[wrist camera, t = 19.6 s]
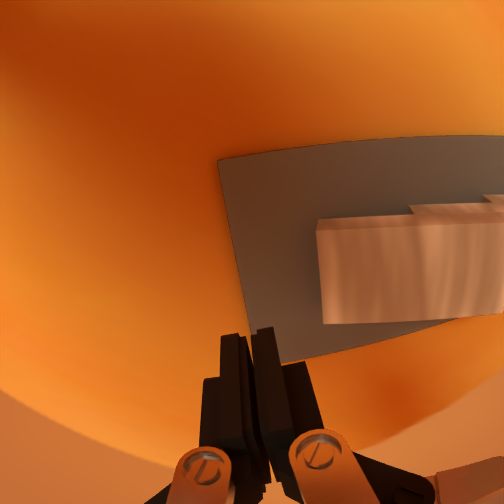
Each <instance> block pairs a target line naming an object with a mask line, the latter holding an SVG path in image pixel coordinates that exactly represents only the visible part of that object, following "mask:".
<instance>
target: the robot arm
mask: <svg viewBox="0 0 504 504" xmlns="http://www.w3.org/2000/svg"><path fill="white" fill-rule="evenodd" d="M251 345H252V356H253V362H252V358H251V355H250V351H249V347H248V343H247V339H246V336H243V337H240V336H239V334H238V333H234V334H229V335H223V336H221V347H220V377H213V378H206V379H204V382H203V393H202V407H201V422H200V438H199V447H198V448H195V449H192V450H190V451H189V452H187V453H185V454H184V455H183V456H182V457H181V459H180V460H179V462H178V464H177V466H176V469H175V473H174V477H173V481H172V483H170V484H169V485H168V486H167V487H165V488H164V489H163V490H161V491H160V492H159V493H158V494H156V495H155V496H154V497H152V498H151V499H150V500H148V501H147V502H145V503H144V504H258V503H259V502H260V501H261V500H262V499H263V493H265V492H266V487H265V484H268V483H271V473H270V465H269V460H270V463H271V466H272V469H273V472H274V475H275V478H276V481H277V482H281V483H282V486H283V490H284V493H285V495H286V496H288V497H289V498H291V499H293V500H295V501H297V502H299V503H300V504H504V457H502V456H498V457H492V458H489V459H486V460H483V461H480V462H476V463H473V464H469V465H466V466H462V467H458V468H454V469H450V470H445V471H441V472H437V473H436V474H435V475H434V476H429V477H422V476H420V475H417V474H413V473H410V472H407V471H404V470H401V469H398V468H395V467H392V466H389V465H386V464H384V463H380V462H378V461H376V460H373V459H370V458H367V457H365V456H362V455H360V454H357V453H355V452H352V451H351V449H350V447H349V446H348V444H347V442H346V440H345V439H344V438H343V437H342V436H341V435H340V434H338V433H337V432H335V431H331V430H328V429H324V425H323V422H322V418H321V415H320V411H319V408H318V404H317V401H316V397H315V394H314V390H313V387H312V383H311V380H310V376H309V373H308V369H307V366H306V363H305V361H303V362H298V363H293V364H289V365H284V366H281V363H280V358H279V353H278V348H277V343H276V338H275V333H274V328H273V326H272V327H267V328H262V329H257V334H254V335H251Z"/></svg>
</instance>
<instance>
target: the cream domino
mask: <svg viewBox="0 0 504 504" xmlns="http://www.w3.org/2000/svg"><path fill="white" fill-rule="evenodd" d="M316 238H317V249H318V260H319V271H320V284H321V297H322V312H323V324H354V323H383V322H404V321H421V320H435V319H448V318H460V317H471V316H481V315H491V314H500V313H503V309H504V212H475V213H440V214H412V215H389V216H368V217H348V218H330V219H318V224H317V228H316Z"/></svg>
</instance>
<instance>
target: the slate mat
mask: <svg viewBox="0 0 504 504" xmlns="http://www.w3.org/2000/svg"><path fill="white" fill-rule="evenodd" d="M217 164H218V170H219V175H220V180H221V185H222V191H223V196H224V201H225V206H226V211H227V217H228V222H229V227H230V232H231V237H232V242H233V247H234V252H235V257H236V262H237V267H238V272H239V277H240V282H241V287H242V292H243V297H244V301H245V306H246V311H247V316H248V321H249V326H250V330H251V335H254V334H257V329H262V328H267V327H272V326H273V328H274V333H275V338H276V343H277V348H278V353H279V358H280V363H285V362H291V361H296V360H301V359H306V358H311V357H316V356H321V355H326V354H330V353H335V352H339V351H344V350H348V349H352V348H356V347H361V346H365V345H369V344H373V343H376V342H380V341H384V340H388V339H391V338H395V337H399V336H402V335H406V334H409V333H413V332H416V331H419V330H423V329H426V328H429V327H432V326H436V325H439V324H442V323H445V322H448V321H451V320H454V319H457V318H448V319H435V320H421V321H404V322H383V323H354V324H323V312H322V297H321V284H320V271H319V260H318V249H317V238H316V228H317V224H318V219H330V218H348V217H368V216H389V215H409V205H422V204H453V203H482V194H487V195H504V136H487V135H456V136H421V137H401V138H386V139H373V140H361V141H350V142H340V143H331V144H322V145H313V146H305V147H298V148H290V149H283V150H277V151H270V152H263V153H257V154H251V155H245V156H239V157H234V158H228V159H223V160H217Z"/></svg>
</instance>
